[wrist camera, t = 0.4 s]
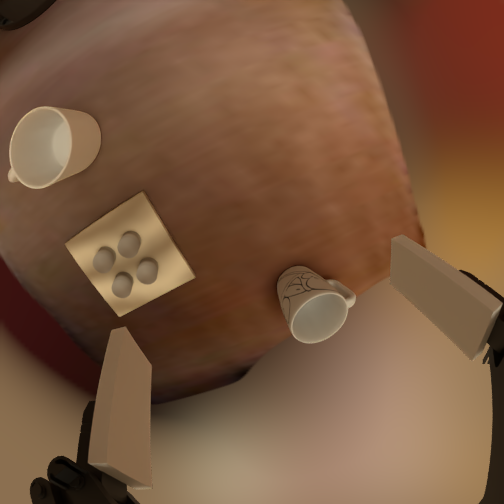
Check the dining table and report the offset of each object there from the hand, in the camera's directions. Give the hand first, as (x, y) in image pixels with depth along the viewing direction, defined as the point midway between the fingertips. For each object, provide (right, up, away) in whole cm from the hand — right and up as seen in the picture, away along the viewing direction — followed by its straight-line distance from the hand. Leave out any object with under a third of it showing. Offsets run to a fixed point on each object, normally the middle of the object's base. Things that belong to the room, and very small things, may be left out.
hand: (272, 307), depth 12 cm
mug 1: (-25, +16, +16) cm, 34 cm away
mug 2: (+7, -2, +32) cm, 33 cm away
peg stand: (-18, +2, +24) cm, 30 cm away
